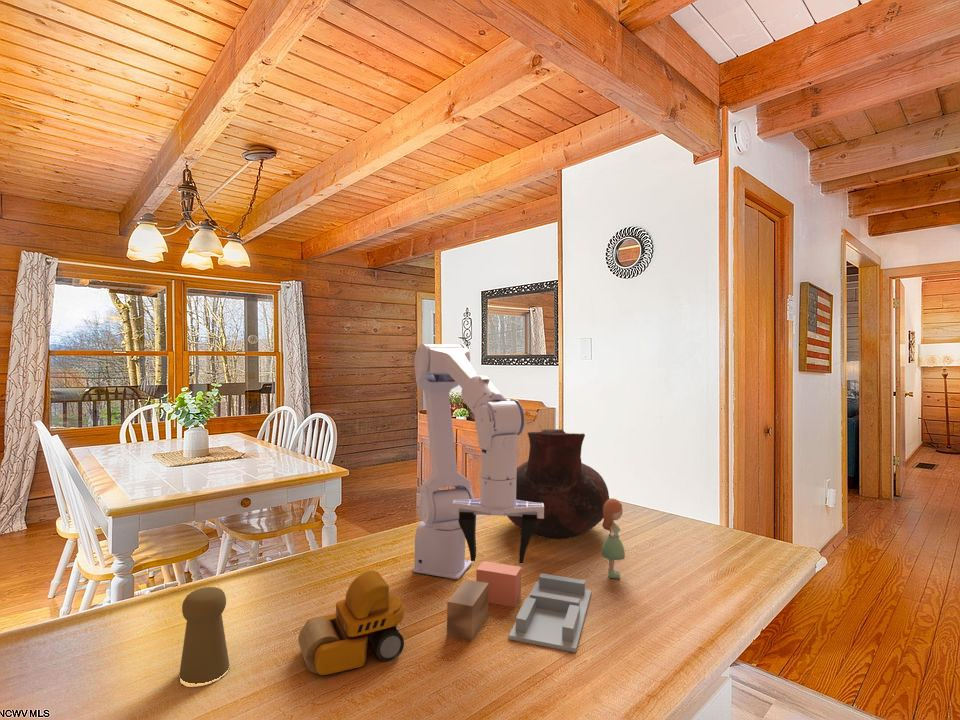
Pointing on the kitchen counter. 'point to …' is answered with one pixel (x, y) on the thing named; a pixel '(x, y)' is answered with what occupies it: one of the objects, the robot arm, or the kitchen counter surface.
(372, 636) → the toy road roller
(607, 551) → the toy
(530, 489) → the jug
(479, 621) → the small taupe brick
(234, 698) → the kitchen counter surface
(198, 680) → the brown pawn figure
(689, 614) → the kitchen counter surface
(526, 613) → the jig
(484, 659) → the kitchen counter surface
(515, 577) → the pink block
